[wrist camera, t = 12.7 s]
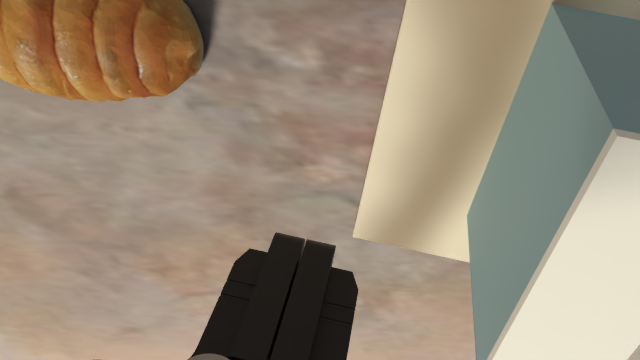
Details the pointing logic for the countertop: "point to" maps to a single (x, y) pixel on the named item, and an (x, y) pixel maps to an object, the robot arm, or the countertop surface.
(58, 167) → the countertop surface
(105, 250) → the countertop surface
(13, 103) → the countertop surface
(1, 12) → the pastry
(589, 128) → the slab
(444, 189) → the board
